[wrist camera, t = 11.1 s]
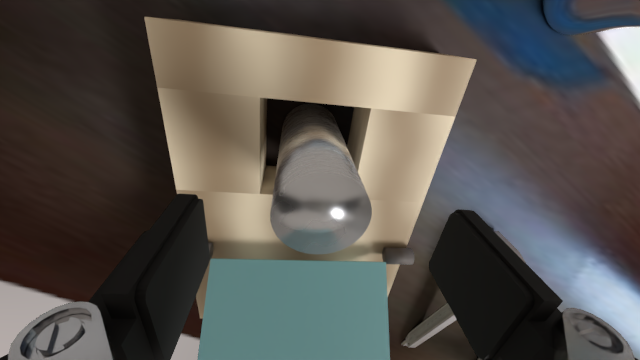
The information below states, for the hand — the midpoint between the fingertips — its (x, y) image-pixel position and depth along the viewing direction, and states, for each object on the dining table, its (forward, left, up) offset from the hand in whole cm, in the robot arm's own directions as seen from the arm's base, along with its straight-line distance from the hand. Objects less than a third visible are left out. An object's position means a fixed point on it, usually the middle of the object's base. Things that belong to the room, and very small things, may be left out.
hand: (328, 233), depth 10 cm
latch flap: (0, +12, -2) cm, 12 cm away
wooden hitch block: (0, +5, -11) cm, 12 cm away
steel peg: (0, 0, -11) cm, 11 cm away
